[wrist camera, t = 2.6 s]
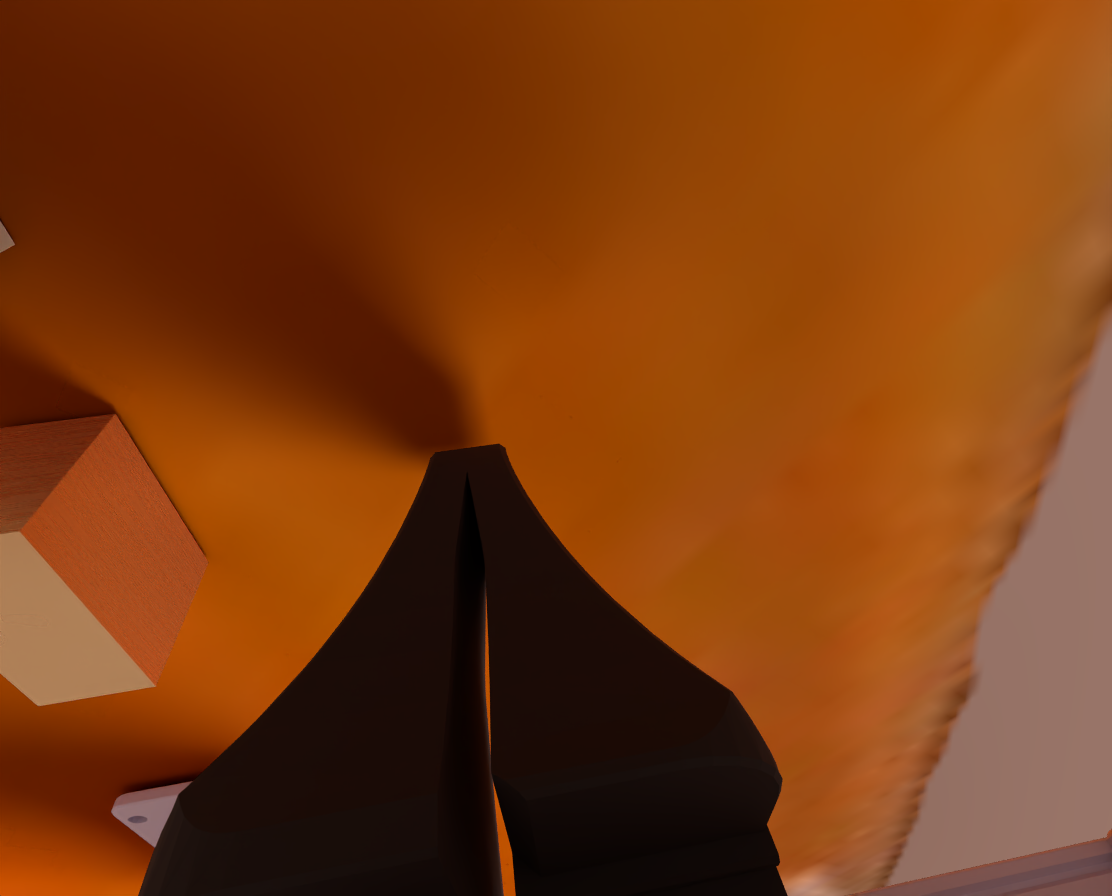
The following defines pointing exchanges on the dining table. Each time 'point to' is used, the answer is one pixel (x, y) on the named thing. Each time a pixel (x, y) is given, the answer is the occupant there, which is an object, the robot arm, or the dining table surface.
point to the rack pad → (5, 239)
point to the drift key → (87, 562)
